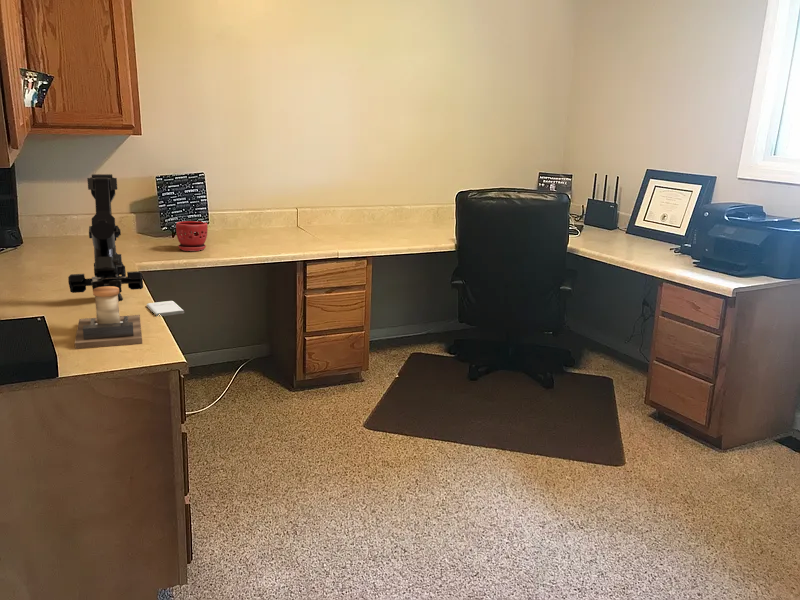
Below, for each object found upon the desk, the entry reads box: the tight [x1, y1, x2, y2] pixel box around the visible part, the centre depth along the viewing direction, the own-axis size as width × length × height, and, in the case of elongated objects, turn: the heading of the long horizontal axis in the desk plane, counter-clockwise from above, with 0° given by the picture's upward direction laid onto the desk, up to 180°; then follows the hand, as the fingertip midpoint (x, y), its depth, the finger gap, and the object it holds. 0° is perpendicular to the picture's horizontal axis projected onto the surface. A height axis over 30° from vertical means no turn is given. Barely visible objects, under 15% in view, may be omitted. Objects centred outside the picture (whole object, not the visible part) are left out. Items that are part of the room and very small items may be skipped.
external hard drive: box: [146, 300, 185, 317], centre depth 211 cm, size 2×8×12 cm
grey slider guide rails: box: [83, 315, 134, 340], centre depth 186 cm, size 17×12×3 cm
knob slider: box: [92, 286, 123, 325], centre depth 183 cm, size 7×7×11 cm
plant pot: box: [175, 220, 209, 252], centre depth 299 cm, size 13×13×12 cm
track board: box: [74, 314, 143, 350], centre depth 187 cm, size 22×16×2 cm
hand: (108, 308), depth 186 cm, fingers closed, pressing on knob slider
